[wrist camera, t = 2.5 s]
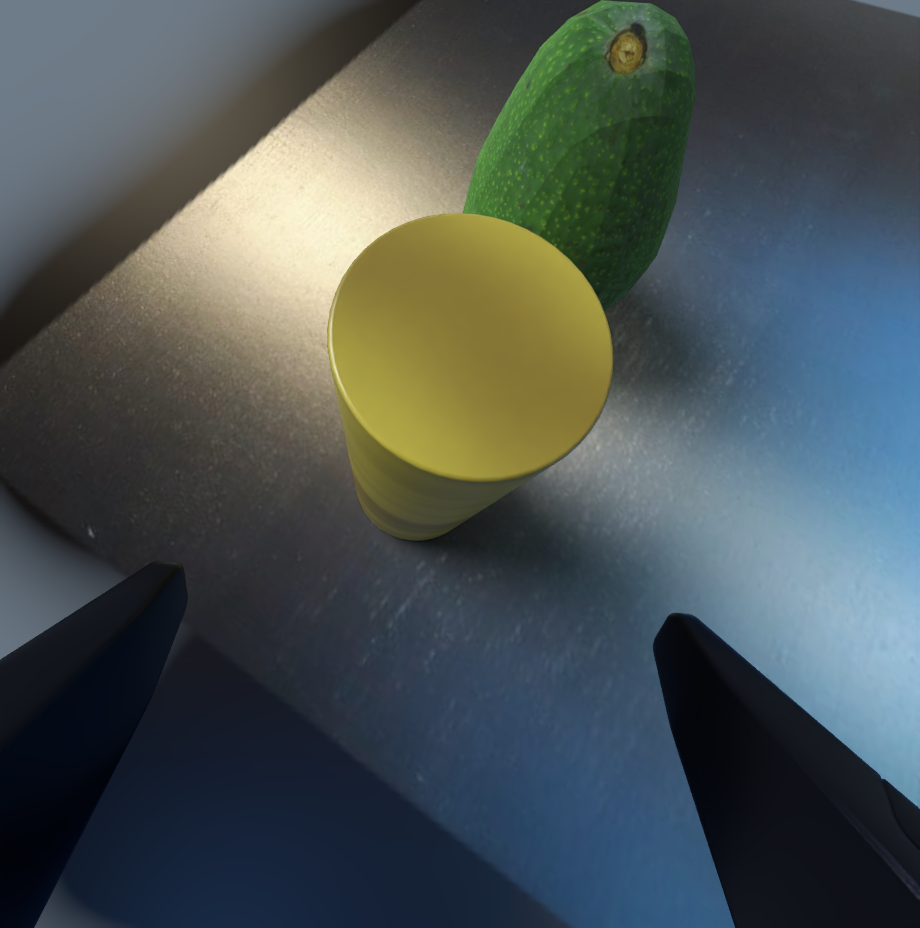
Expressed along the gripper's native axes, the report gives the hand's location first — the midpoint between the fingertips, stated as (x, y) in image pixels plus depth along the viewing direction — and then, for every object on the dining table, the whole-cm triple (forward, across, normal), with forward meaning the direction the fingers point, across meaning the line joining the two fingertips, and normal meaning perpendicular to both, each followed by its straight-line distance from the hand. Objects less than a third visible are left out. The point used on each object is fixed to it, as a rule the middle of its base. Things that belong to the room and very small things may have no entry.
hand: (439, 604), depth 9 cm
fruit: (+19, -4, -2) cm, 19 cm away
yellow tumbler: (+11, 0, +5) cm, 12 cm away
